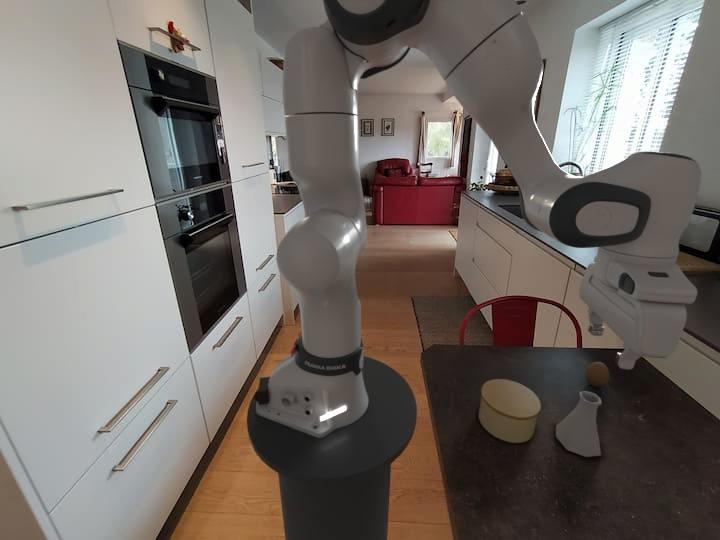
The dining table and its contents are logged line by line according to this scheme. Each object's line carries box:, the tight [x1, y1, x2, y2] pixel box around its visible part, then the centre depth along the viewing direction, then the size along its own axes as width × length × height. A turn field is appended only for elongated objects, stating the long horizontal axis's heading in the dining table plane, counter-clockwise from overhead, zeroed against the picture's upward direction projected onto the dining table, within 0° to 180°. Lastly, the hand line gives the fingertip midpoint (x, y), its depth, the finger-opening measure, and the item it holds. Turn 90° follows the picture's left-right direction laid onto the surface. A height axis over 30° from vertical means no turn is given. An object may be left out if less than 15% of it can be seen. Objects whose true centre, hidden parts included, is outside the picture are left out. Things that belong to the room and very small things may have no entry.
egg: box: [584, 361, 610, 388], centre depth 73 cm, size 4×4×6 cm
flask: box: [555, 390, 602, 458], centre depth 58 cm, size 7×7×10 cm
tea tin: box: [478, 378, 542, 444], centre depth 63 cm, size 10×10×6 cm
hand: (607, 348), depth 53 cm, fingers open, 8 cm apart
